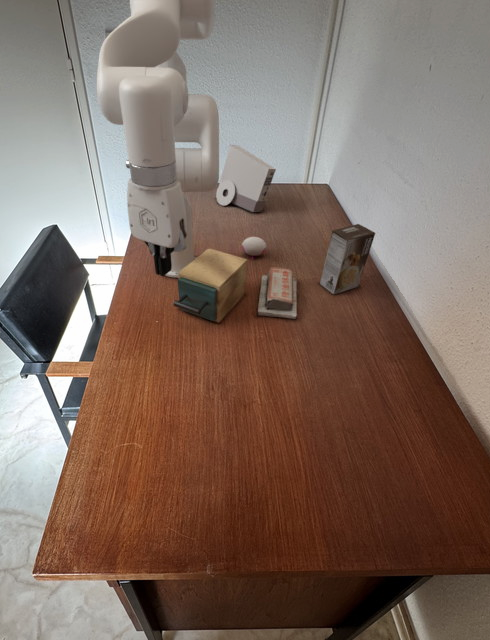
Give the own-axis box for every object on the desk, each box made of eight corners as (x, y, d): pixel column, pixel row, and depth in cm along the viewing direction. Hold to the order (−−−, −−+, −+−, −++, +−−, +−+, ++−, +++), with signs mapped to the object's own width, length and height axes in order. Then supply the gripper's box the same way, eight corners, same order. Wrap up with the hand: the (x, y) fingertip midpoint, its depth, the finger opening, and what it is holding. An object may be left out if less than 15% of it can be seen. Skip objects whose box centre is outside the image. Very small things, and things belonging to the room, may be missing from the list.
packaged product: (263, 264, 104) (298, 267, 103) (261, 279, 108) (295, 282, 107) (258, 300, 92) (299, 304, 91) (256, 316, 95) (295, 320, 94)
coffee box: (343, 276, 109) (359, 222, 98) (358, 287, 105) (377, 232, 94) (318, 284, 106) (332, 229, 95) (333, 295, 102) (349, 240, 91)
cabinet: (218, 322, 93) (219, 286, 86) (180, 308, 97) (177, 273, 90) (244, 294, 102) (247, 259, 95) (208, 282, 106) (208, 248, 98)
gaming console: (210, 200, 148) (218, 142, 136) (223, 199, 152) (232, 143, 140) (252, 218, 136) (265, 157, 124) (265, 217, 141) (279, 157, 128)
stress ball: (263, 262, 121) (266, 240, 120) (264, 259, 113) (268, 236, 112) (240, 259, 121) (243, 238, 120) (240, 256, 113) (243, 233, 112)
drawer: (204, 332, 89) (204, 301, 83) (169, 318, 93) (166, 288, 86) (239, 295, 100) (241, 265, 94) (206, 284, 104) (206, 255, 98)
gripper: (103, 171, 61) (122, 270, 74) (178, 188, 56) (185, 292, 69) (132, 159, 65) (145, 254, 79) (204, 174, 60) (205, 273, 74)
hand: (163, 272), depth 74 cm, fingers closed
